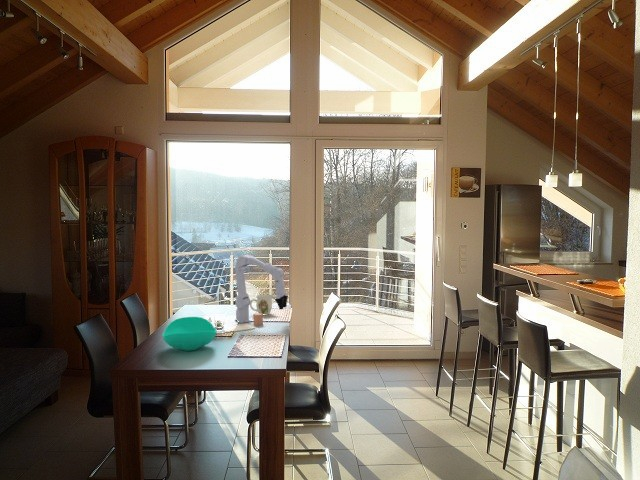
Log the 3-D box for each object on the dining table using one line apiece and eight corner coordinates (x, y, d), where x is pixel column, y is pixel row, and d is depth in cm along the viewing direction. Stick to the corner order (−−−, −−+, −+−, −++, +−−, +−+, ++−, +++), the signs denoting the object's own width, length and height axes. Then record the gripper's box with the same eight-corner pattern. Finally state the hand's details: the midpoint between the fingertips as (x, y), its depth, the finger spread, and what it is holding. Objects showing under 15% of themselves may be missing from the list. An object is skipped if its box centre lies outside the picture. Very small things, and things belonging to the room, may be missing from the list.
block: (253, 324, 318) (253, 313, 317) (260, 323, 320) (259, 313, 319) (256, 326, 314) (256, 315, 313) (262, 325, 316) (262, 314, 316)
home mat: (219, 328, 309) (219, 327, 309) (246, 324, 318) (246, 323, 318) (227, 332, 297) (227, 331, 297) (255, 328, 306) (255, 327, 306)
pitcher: (251, 313, 354) (250, 294, 353) (276, 312, 355) (275, 293, 354) (249, 316, 343) (248, 296, 342) (275, 315, 344) (274, 296, 343)
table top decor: (219, 357, 248) (218, 330, 247) (161, 362, 240) (160, 335, 239) (214, 337, 286) (213, 315, 285) (164, 341, 278) (163, 318, 277)
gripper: (282, 287, 308) (286, 309, 308) (289, 285, 322) (292, 305, 322) (272, 289, 309) (275, 310, 309) (278, 286, 323) (281, 306, 323)
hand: (283, 308), depth 316 cm, fingers open, 7 cm apart
